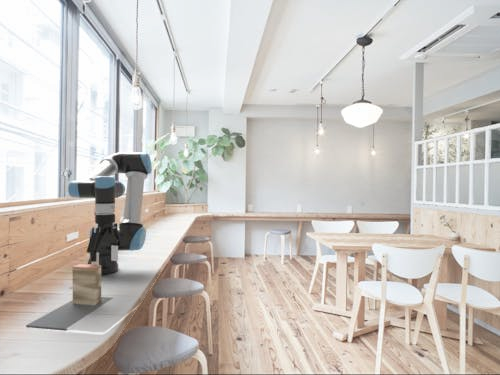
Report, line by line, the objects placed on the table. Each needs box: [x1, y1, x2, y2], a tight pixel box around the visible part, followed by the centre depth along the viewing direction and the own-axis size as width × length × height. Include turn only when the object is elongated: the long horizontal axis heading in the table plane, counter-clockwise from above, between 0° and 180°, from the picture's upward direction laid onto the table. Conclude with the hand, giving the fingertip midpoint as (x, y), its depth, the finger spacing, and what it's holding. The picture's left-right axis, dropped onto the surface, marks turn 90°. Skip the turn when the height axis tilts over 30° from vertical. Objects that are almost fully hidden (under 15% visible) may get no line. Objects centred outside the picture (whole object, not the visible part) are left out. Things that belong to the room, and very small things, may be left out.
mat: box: [25, 296, 113, 332], centre depth 112 cm, size 26×14×1 cm, turn 172°
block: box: [71, 263, 102, 305], centre depth 119 cm, size 4×9×14 cm, turn 82°
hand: (105, 264), depth 131 cm, fingers open, 13 cm apart
